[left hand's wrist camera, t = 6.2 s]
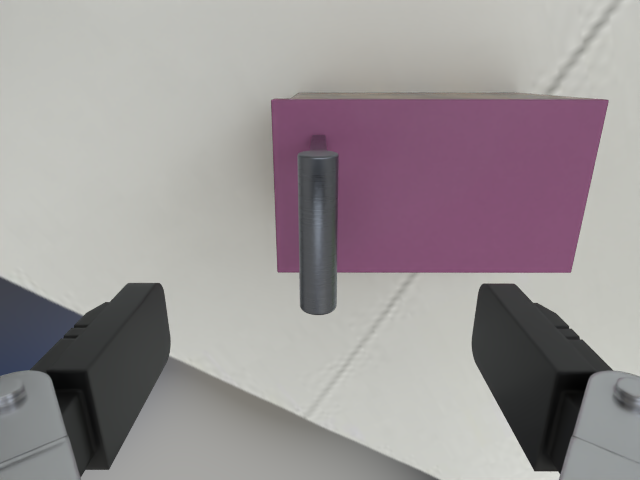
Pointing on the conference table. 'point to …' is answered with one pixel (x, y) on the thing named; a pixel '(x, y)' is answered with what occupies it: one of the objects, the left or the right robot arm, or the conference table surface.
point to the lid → (429, 186)
